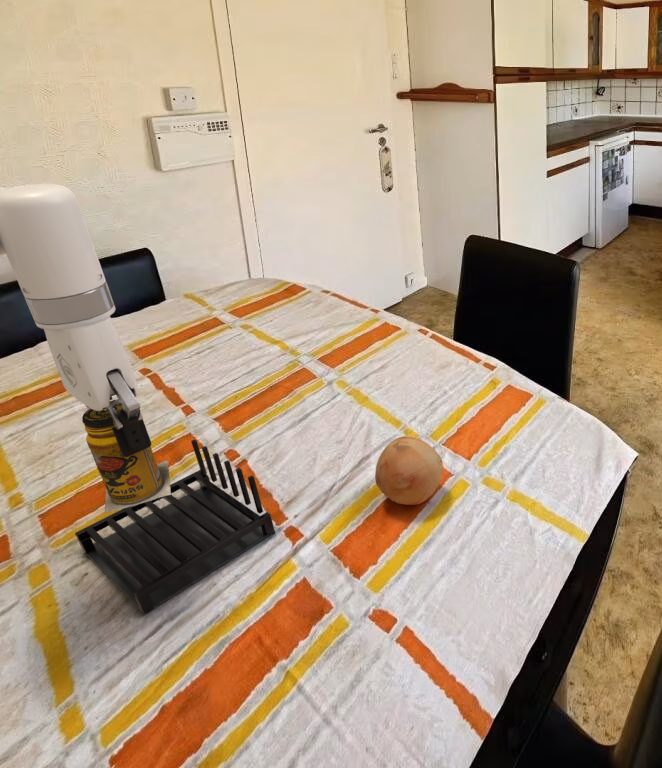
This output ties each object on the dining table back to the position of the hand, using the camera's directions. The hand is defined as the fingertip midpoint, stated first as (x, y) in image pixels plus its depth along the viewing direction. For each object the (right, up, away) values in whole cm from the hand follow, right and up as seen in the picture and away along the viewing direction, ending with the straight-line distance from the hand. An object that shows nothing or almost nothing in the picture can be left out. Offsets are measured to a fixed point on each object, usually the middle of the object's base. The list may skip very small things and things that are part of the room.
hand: (124, 440), depth 76 cm
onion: (+33, -10, +17) cm, 38 cm away
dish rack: (+2, -15, +10) cm, 18 cm away
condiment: (-1, -6, +4) cm, 8 cm away
